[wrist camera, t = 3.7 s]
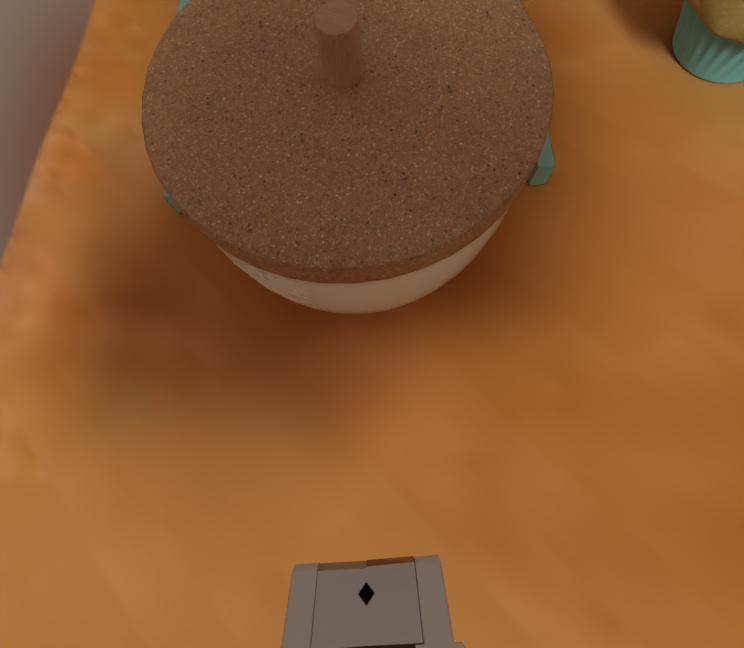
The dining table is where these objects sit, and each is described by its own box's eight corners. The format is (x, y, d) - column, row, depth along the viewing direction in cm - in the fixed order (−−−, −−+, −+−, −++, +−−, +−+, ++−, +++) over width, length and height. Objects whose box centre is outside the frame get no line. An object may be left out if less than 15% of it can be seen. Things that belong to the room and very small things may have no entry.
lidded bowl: (433, 393, 20) (480, 318, 9) (189, 288, 22) (-1, 127, 11) (526, 166, 23) (640, -83, 12) (305, 91, 25) (242, -180, 14)
